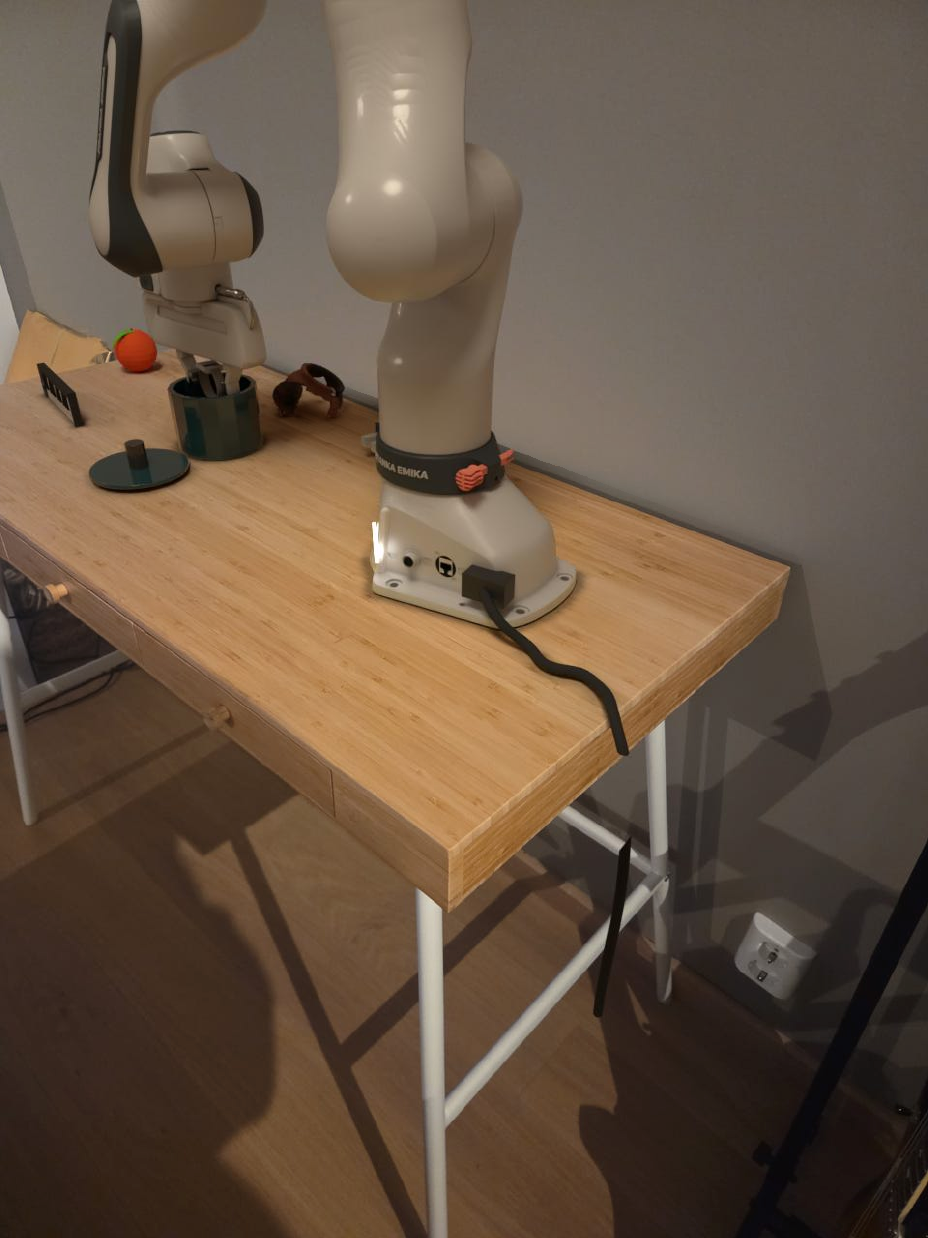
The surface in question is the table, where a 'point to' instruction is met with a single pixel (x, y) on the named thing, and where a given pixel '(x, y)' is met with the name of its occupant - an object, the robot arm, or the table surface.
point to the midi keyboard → (60, 394)
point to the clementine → (135, 350)
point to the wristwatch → (204, 378)
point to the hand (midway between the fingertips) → (213, 388)
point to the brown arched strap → (308, 389)
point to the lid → (138, 467)
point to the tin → (216, 420)
